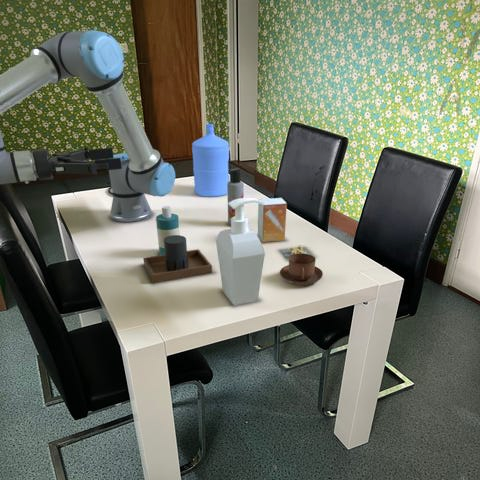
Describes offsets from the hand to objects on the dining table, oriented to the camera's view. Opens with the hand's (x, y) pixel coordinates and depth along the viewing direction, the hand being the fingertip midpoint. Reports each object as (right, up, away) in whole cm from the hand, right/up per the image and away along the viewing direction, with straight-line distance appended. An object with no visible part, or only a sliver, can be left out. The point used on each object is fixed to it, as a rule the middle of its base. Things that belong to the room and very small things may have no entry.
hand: (116, 157), depth 128 cm
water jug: (+22, +12, +77) cm, 81 cm away
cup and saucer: (+52, -33, +4) cm, 61 cm away
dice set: (+52, -24, +19) cm, 60 cm away
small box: (+45, -17, +30) cm, 57 cm away
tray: (+16, -30, +10) cm, 35 cm away
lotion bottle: (+33, -10, +42) cm, 54 cm away
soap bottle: (+35, -38, -4) cm, 52 cm away
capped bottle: (+12, -23, +20) cm, 33 cm away
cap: (+16, -29, +9) cm, 34 cm away
